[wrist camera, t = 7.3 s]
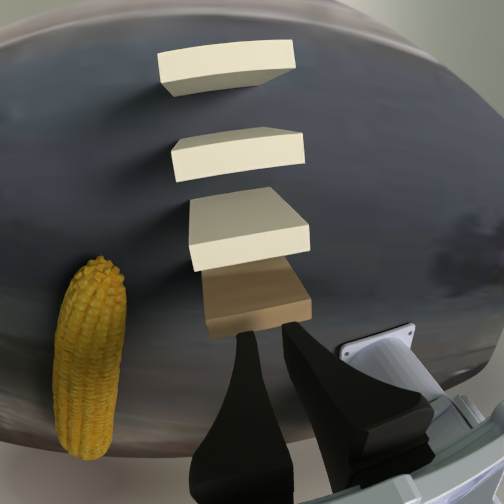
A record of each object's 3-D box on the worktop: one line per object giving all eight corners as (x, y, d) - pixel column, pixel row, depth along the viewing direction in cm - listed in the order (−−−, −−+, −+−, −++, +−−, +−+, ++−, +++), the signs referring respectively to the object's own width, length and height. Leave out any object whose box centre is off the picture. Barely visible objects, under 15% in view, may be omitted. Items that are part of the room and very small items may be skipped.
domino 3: (271, 204, 20) (309, 250, 14) (193, 218, 20) (194, 271, 13) (269, 186, 20) (308, 224, 13) (190, 199, 19) (188, 245, 13)
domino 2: (265, 146, 18) (304, 163, 12) (182, 158, 18) (176, 182, 11) (263, 126, 18) (302, 132, 11) (179, 139, 17) (170, 151, 11)
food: (114, 428, 27) (109, 474, 22) (64, 414, 25) (53, 459, 20) (145, 252, 20) (130, 301, 15) (68, 230, 18) (31, 271, 13)
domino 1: (258, 85, 17) (295, 68, 10) (173, 97, 16) (161, 83, 10) (256, 66, 16) (292, 39, 10) (171, 78, 16) (157, 53, 9)
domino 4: (276, 257, 22) (311, 318, 15) (203, 270, 21) (210, 339, 15) (274, 241, 21) (311, 298, 15) (200, 255, 21) (205, 320, 14)
